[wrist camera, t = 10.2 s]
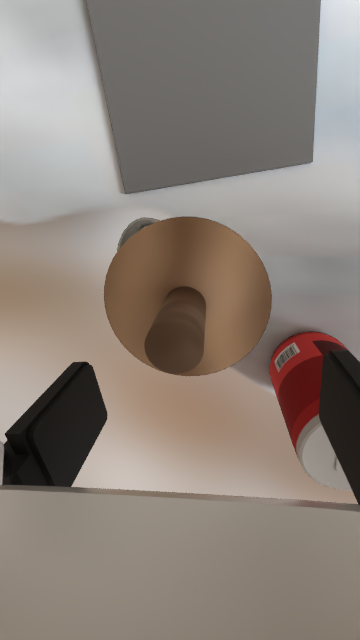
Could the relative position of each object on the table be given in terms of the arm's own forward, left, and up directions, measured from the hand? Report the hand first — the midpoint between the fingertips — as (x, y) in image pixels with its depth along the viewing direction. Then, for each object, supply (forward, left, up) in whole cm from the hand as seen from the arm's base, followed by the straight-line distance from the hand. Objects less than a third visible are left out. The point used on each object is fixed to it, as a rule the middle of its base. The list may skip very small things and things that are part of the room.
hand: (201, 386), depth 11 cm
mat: (-1, -16, -16) cm, 23 cm away
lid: (+1, -1, -8) cm, 8 cm away
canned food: (-9, +10, -16) cm, 21 cm away
